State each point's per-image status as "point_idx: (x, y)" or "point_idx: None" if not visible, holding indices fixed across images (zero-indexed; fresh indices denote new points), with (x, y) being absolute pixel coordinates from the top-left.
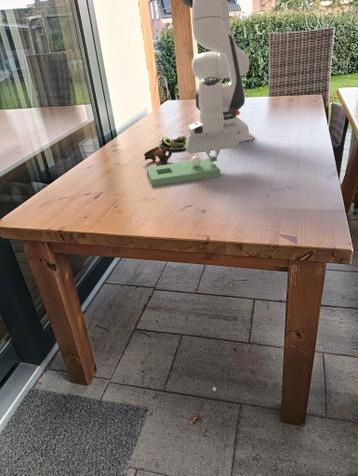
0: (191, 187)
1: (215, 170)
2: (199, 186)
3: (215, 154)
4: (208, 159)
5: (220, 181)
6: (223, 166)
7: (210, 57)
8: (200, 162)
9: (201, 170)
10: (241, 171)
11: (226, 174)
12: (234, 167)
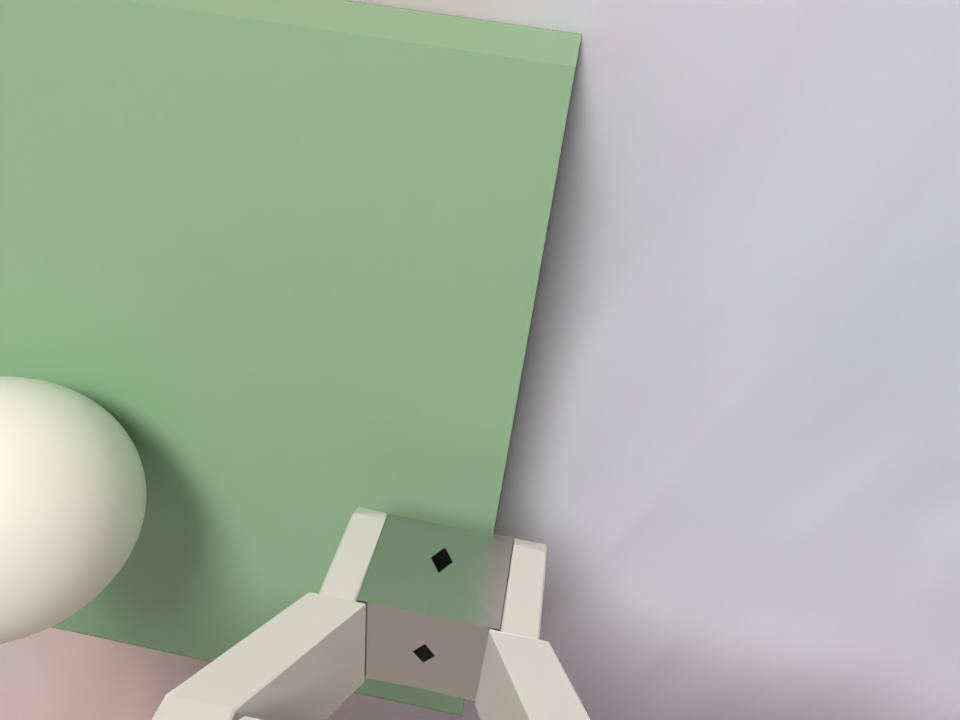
0: (81, 664)
1: (390, 695)
2: (165, 685)
3: (504, 714)
4: (496, 146)
5: (413, 713)
6: (779, 348)
7: None
8: (124, 562)
9: (174, 610)
10: (849, 662)
11: (585, 628)
12: (911, 501)
